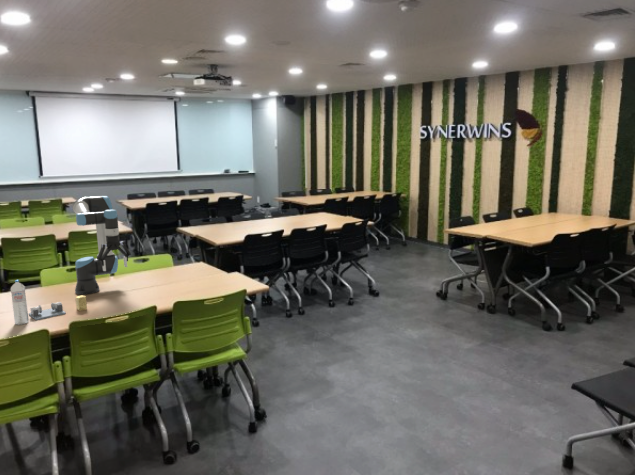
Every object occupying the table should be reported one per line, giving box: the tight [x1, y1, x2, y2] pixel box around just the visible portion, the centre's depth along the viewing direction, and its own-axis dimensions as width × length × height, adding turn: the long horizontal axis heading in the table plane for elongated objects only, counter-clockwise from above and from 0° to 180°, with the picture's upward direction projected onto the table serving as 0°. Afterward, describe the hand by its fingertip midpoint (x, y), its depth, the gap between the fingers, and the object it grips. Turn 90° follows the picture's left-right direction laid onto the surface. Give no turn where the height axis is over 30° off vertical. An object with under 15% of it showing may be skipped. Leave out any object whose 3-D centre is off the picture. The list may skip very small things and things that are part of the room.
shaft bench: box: [28, 301, 67, 321], centre depth 298 cm, size 14×16×6 cm
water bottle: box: [10, 279, 29, 326], centre depth 282 cm, size 7×7×25 cm
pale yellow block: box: [75, 294, 88, 312], centre depth 307 cm, size 4×4×8 cm
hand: (115, 268), depth 311 cm, fingers open, 13 cm apart
